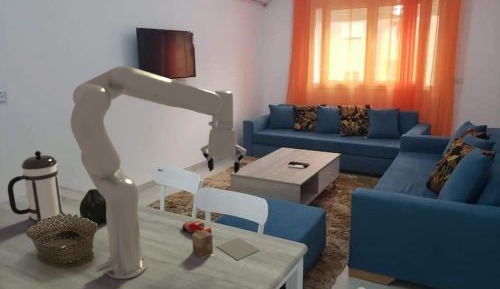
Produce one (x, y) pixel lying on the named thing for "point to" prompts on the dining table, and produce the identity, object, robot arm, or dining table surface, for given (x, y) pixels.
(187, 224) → the race car
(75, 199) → the dining table surface
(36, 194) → the coffee press
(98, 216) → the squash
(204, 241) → the walnut block
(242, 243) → the pad
